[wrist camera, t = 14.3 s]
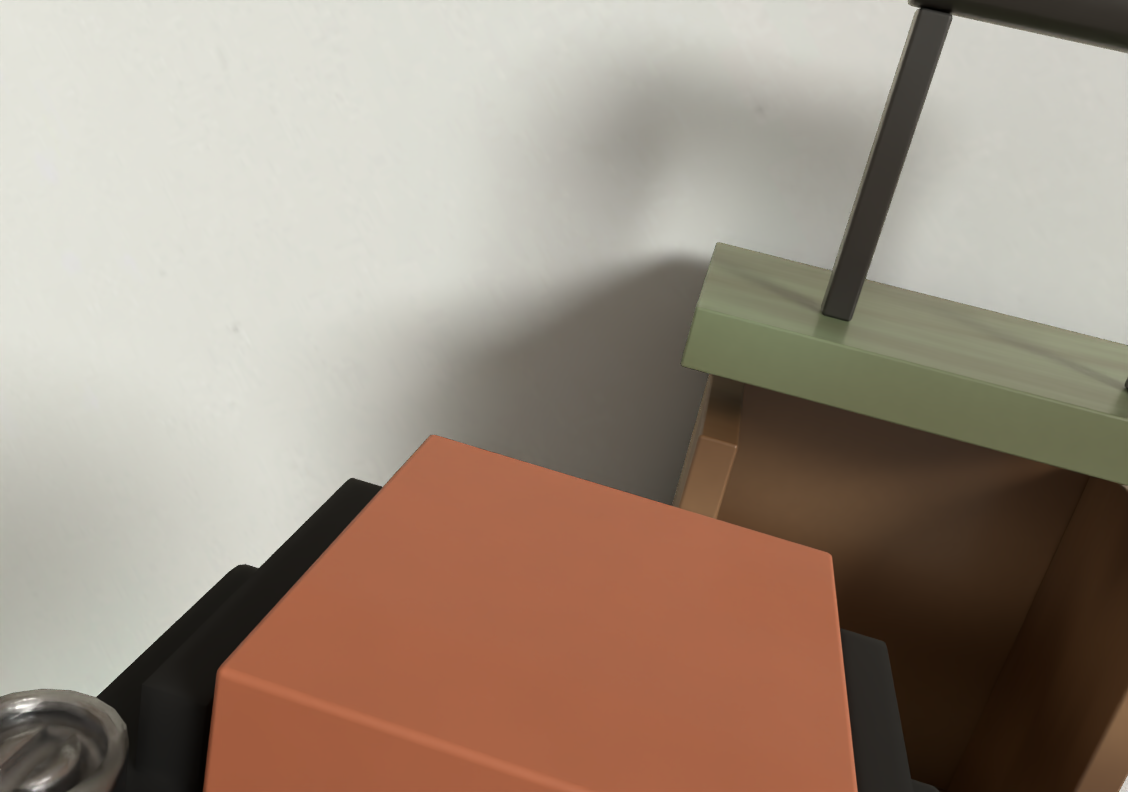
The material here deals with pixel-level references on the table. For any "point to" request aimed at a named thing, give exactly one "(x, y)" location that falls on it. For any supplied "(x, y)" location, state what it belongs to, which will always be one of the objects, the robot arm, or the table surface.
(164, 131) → the table surface
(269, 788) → the block
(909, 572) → the drawer
